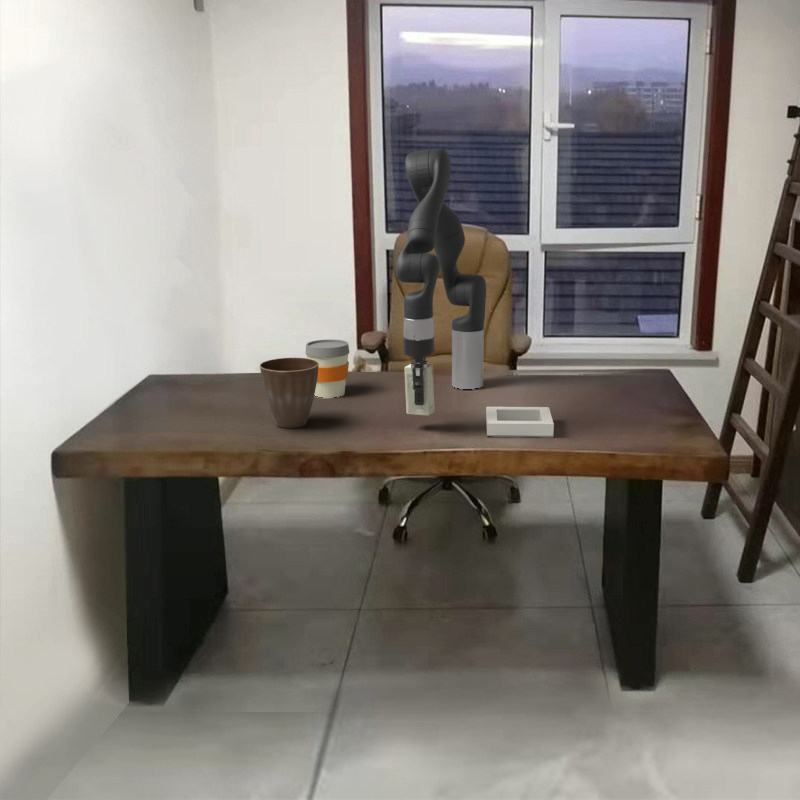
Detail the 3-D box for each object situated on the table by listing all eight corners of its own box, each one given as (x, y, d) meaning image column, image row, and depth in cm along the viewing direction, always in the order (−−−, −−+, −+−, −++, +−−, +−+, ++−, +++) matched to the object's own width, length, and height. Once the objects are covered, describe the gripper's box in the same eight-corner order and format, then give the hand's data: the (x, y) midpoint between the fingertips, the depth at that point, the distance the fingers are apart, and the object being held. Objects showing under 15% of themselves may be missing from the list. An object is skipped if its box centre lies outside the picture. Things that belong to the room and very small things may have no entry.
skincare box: (435, 411, 228) (434, 364, 224) (428, 416, 224) (428, 368, 221) (411, 409, 230) (410, 362, 227) (404, 413, 226) (403, 366, 223)
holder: (486, 419, 235) (486, 406, 234) (548, 420, 233) (548, 407, 233) (487, 437, 220) (487, 423, 219) (553, 437, 219) (553, 423, 218)
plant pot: (332, 420, 236) (330, 360, 232) (299, 435, 224) (296, 373, 219) (285, 413, 243) (282, 355, 239) (251, 428, 231) (247, 367, 226)
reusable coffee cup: (354, 389, 267) (352, 339, 263) (346, 400, 255) (344, 348, 251) (312, 388, 269) (310, 339, 265) (302, 399, 257) (300, 347, 253)
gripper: (405, 329, 229) (406, 393, 233) (401, 341, 215) (402, 409, 220) (435, 329, 228) (435, 393, 233) (432, 341, 214) (433, 409, 219)
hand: (419, 401), depth 226 cm, fingers closed on skincare box, 5 cm apart
